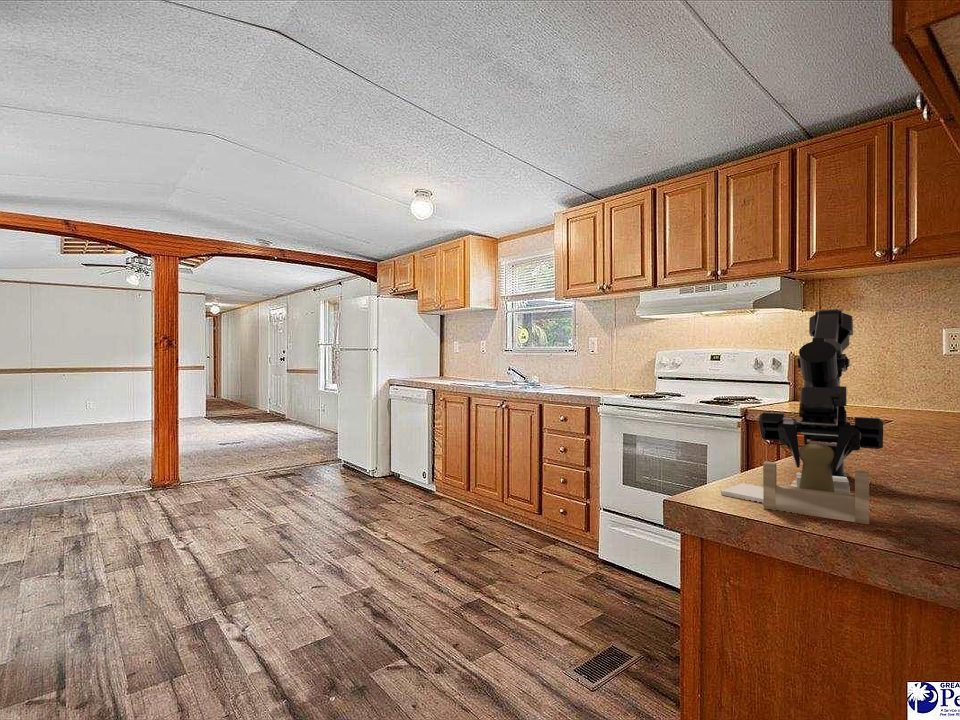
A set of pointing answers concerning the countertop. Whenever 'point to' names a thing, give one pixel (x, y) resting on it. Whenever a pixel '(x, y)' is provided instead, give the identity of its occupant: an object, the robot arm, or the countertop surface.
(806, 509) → the birch rack
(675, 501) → the countertop surface
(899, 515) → the countertop surface
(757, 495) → the ceramic pad
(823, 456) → the cork
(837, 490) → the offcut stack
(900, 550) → the countertop surface
